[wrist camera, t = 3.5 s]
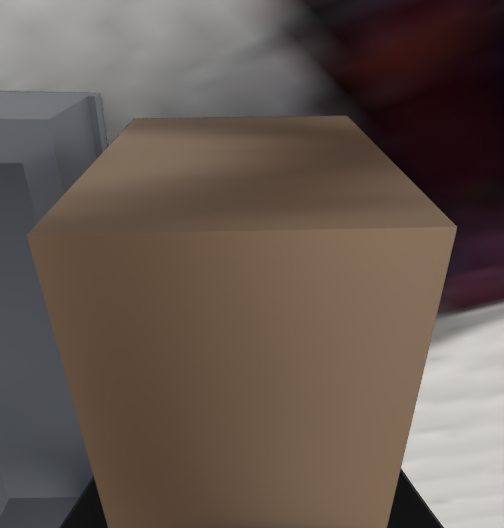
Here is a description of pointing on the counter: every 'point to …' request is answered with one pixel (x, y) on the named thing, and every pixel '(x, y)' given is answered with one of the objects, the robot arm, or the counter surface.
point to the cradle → (38, 306)
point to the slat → (244, 320)
